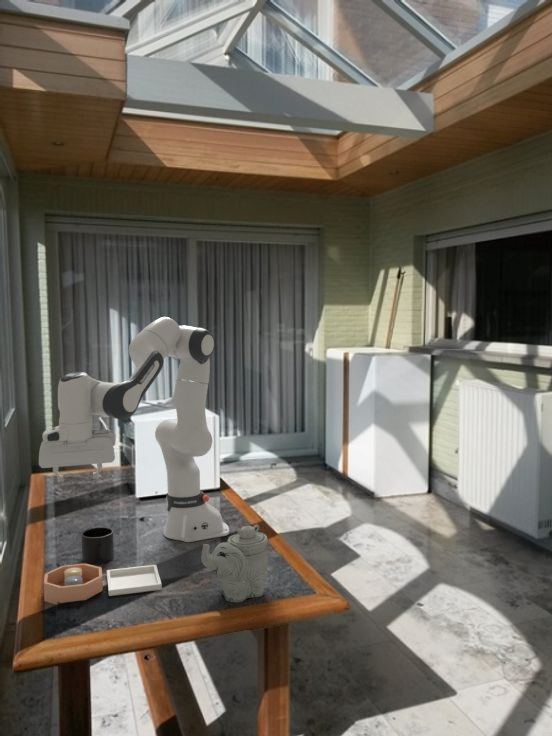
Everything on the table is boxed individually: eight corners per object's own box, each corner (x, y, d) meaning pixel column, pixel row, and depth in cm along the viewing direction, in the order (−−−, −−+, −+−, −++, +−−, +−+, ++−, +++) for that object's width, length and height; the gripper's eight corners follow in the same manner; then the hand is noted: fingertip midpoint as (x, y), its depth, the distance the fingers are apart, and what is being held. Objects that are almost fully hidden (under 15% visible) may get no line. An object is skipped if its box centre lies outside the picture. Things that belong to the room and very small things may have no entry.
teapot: (200, 605, 170) (199, 535, 168) (213, 581, 185) (213, 516, 183) (262, 609, 168) (262, 538, 166) (271, 584, 183) (270, 519, 181)
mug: (85, 572, 191) (84, 542, 190) (80, 557, 202) (79, 529, 201) (117, 567, 195) (116, 538, 194) (111, 553, 206) (110, 525, 205)
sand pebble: (81, 580, 183) (81, 566, 183) (82, 586, 179) (82, 572, 178) (64, 582, 181) (63, 569, 181) (65, 589, 177) (64, 575, 177)
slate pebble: (82, 589, 177) (82, 575, 177) (82, 596, 173) (82, 581, 172) (65, 591, 176) (64, 577, 176) (64, 598, 172) (64, 584, 171)
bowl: (101, 578, 187) (101, 561, 186) (103, 601, 172) (102, 582, 172) (46, 584, 182) (45, 567, 182) (43, 608, 168) (42, 590, 168)
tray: (156, 572, 191) (156, 564, 190) (161, 592, 177) (161, 584, 177) (107, 578, 187) (106, 570, 186) (108, 599, 173) (108, 590, 173)
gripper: (114, 426, 185) (116, 474, 187) (38, 431, 179) (40, 480, 181) (115, 431, 179) (117, 479, 181) (36, 436, 173) (39, 486, 175)
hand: (78, 480), depth 181 cm, fingers open, 8 cm apart
